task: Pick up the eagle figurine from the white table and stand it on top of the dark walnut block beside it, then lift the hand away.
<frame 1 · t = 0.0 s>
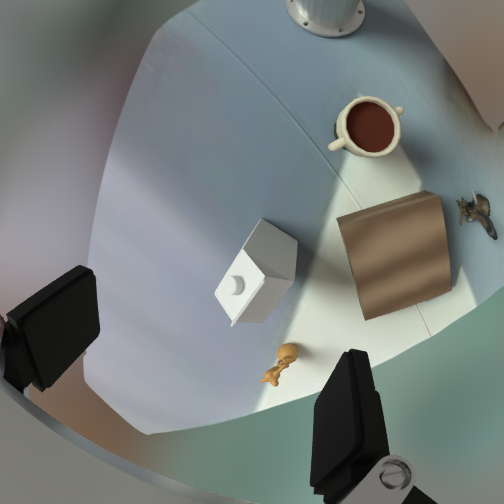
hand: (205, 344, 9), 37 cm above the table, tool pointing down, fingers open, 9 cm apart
eagle figurine: (470, 210, 39), on the table
walnut block: (393, 248, 44), on the table
figurine: (284, 343, 54), on the table
milk carton: (268, 245, 48), on the table
character mug: (353, 132, 39), on the table
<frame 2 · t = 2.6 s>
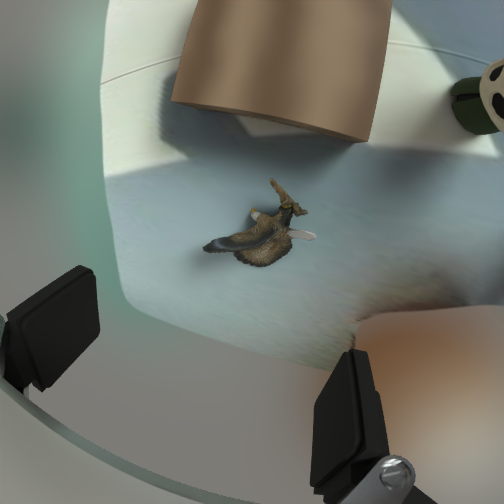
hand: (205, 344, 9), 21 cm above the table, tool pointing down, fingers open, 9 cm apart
eagle figurine: (265, 225, 29), on the table
walnut block: (290, 49, 22), on the table
character mug: (470, 107, 20), on the table
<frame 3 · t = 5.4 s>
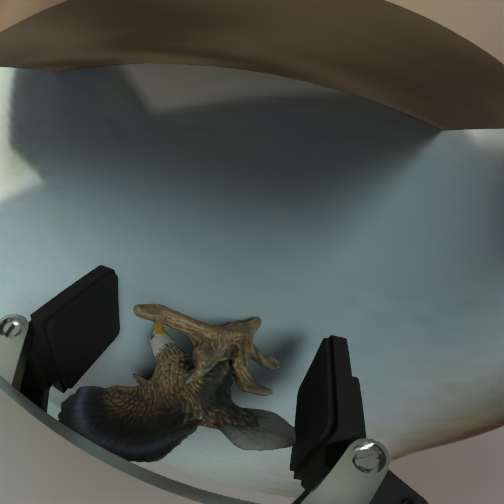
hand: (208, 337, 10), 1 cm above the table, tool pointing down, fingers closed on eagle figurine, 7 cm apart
eagle figurine: (191, 352, 12), on the table, touching gripper
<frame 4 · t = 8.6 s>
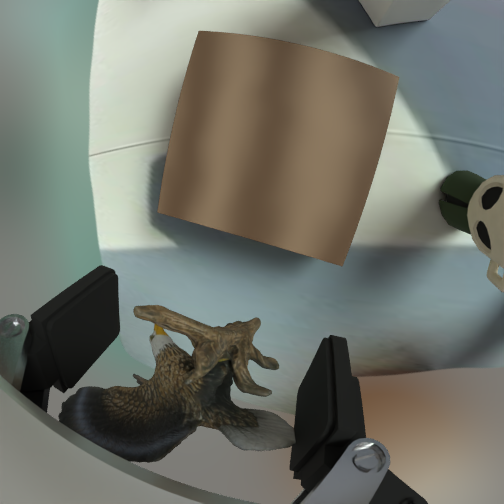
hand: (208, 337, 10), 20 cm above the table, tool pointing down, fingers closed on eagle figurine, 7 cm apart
eagle figurine: (191, 352, 12), point 18 cm above the table, touching gripper
walnut block: (278, 141, 25), on the table
character mug: (459, 198, 24), on the table
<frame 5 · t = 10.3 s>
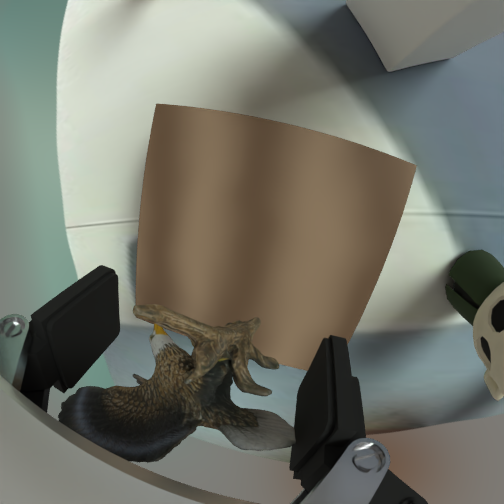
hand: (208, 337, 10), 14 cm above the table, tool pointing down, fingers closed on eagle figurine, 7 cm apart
eagle figurine: (190, 352, 12), point 13 cm above the table, touching gripper
walnut block: (266, 228, 23), on the table
milk carton: (400, 29, 15), on the table
character mug: (468, 277, 21), on the table
when the fingers open (9 cm above the table, at t = 11.9 s): eagle figurine drops 1 cm, resting on walnut block.
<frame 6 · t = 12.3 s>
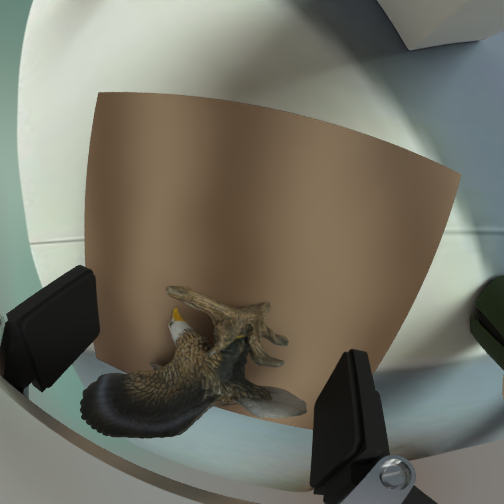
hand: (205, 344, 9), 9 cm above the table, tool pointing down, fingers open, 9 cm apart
eagle figurine: (206, 338, 14), point 6 cm above the table, touching walnut block
walnut block: (252, 251, 18), on the table
milk carton: (420, 2, 10), on the table
character mug: (494, 304, 16), on the table
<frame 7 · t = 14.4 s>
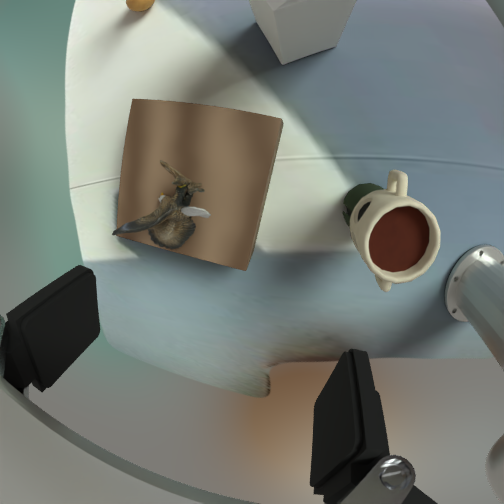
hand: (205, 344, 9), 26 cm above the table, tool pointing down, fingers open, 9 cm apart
eagle figurine: (175, 208, 29), point 6 cm above the table, touching walnut block
walnut block: (203, 174, 33), on the table
figurine: (154, 1, 25), on the table
milk carton: (296, 33, 26), on the table
character mug: (366, 207, 32), on the table
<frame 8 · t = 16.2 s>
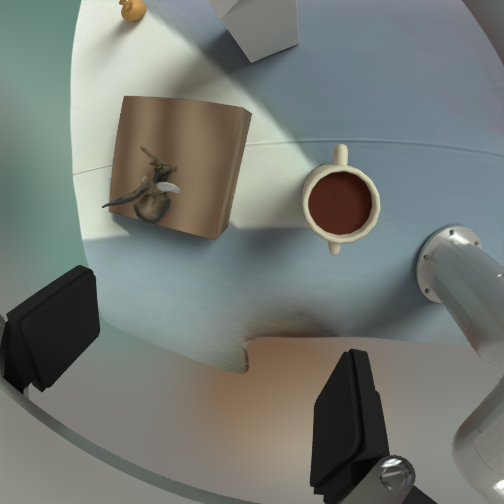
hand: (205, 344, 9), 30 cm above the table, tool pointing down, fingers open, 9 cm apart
eagle figurine: (156, 188, 34), point 6 cm above the table, touching walnut block
walnut block: (184, 160, 38), on the table
figurine: (145, 11, 30), on the table
milk carton: (264, 34, 30), on the table
character mug: (329, 186, 36), on the table
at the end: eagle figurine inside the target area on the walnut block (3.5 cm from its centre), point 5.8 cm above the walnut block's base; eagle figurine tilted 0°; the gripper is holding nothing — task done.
